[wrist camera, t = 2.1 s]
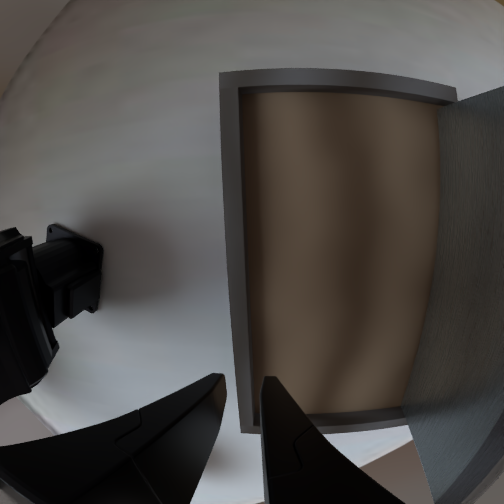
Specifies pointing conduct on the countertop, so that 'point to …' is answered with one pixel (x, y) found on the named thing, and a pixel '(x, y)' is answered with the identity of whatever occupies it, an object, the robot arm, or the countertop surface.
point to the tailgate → (464, 311)
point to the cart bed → (329, 236)
